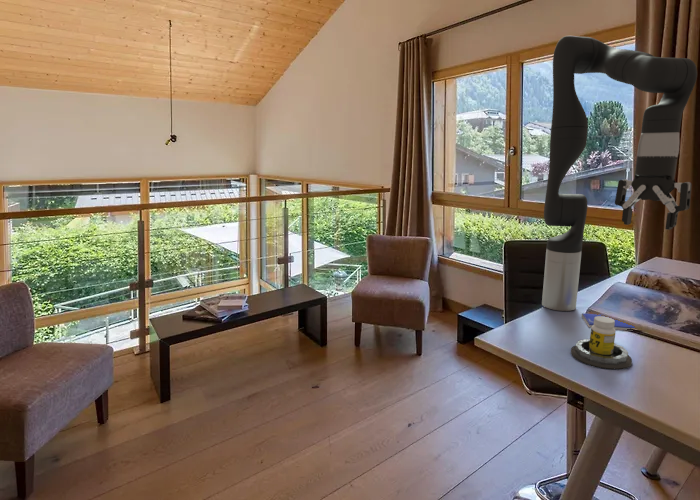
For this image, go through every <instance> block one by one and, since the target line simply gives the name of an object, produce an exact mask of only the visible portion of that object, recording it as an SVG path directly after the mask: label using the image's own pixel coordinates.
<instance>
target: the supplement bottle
mask: <svg viewBox="0 0 700 500" xmlns="http://www.w3.org/2000/svg"><path fill="white" fill-rule="evenodd" d="M614 325H615V320H614V319H612V318H609V317H604V316H596V317H595V318H594V325H592V327H590V335H589V339H590V343H589V352H590V353H592V354H597V355H601V356H611V357H612V356H613V348H614V343H615V341H616V340H615V338H616V329H614Z"/></svg>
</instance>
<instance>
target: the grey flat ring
mask: <svg viewBox="0 0 700 500" xmlns="http://www.w3.org/2000/svg"><path fill="white" fill-rule="evenodd" d="M589 343H590V338H586V339H581V340H578V341H577V342H576V344H575V345H573V346H572V347H571V349H570V355H571V357H572V358H574V359H575V360H577V361H578V362H580V363H582V364H584V365H586V366H590V367H593V368H597V369H604V370H607V371H619V370H625V369H628V368H629V369H630V367H631V366H633V365H632V364H633V359H632V357H631V356H630V355H629V351H628V350H627V349H626V348H624V346H622V345H619V344H617V343H615V342H614V348H613V356H612V357H611V356H601V355H597V354H592V353H590V352H589Z"/></svg>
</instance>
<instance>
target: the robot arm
mask: <svg viewBox="0 0 700 500" xmlns="http://www.w3.org/2000/svg"><path fill="white" fill-rule="evenodd" d="M552 55H553V56H552V84H553V85H552V86H553V87H552V90H553V93H552V95H553V98H552V99H553V102H552V115H551V116H552V117H551V124H550V125H551V127H550V137H549V138H550V139H549V164H548V165H549V167H548V176H547V184H546V189H545V190H546V191H545V200H544V208H543V220H544V223H545V224H546V226H549V227H569V229H568V230H567V231H566V232H564V233H562V234H558V235H556V236H553V237H549V238H548V239H547V241H546V250H545V251H546V252H545V262H544V263H545V264H544V275H543V276H544V277H543V288H542V297H541V298H542V300H541V305H542V307H545V308H547V309H548V310H549V309H550V310H554V311H559V312H562V311H563V312H570V311H574V310H576V308H577V302H578V301H577V299H578V290H579V279H580V270H581V262H582V261H581V260H582V251H583V242H584V233H585V226H586V221H587V214H588V199H587V197H586V195H584V194H581V193H559V191H560V188H561V184H562V182H563V181H564V178H566V175H567V173H568V172H569V171H570V170H571V168H572V166H573V165H574V164H575V163H576V161H578V159H579V158H580V156H581V155H582V154H583V152H584V150H585V149H586V147H587V142H588V129H589V128H588V127H589V121H588V116H587V113H586V111H585V108H584V106H583V105H582V103H581V101H580V99H579V97H578V94H577V92H576V91H577V90H576V87H575V74H577V75H583V74H599V73H600V74H603V75H604V74H605V75H606V76H607V77H608V78H610V79H611V80H614V81H616V82H619V83H623V84H627V85H631V86H632V87H634V88H636V89H637V90H639V91H641V92H646V93H649V94H662V97H661V98H660V101H659V103H658V104H653V105H650V106H649V107H646V108H645V110H644V112H643V116H642V123H641V130H640V136H639V141H638V145H637V151H636V152H637V153H636V160H635V168H634V169H635V170H634V178H633V180H628V179H626V178H625V179H620V180H619V181H618V182H617V187H616V188H617V189H616V192H615V193H616V194H615V198H614V205H615V206H619V207H621V208H622V216H621V222H622V223H623V225H624V226H625V225H627V226H629V225H631V223H632V217H633V212H634V211H633V210H634V209H633V206H634V205H635V204H636V203H637V202H639V201H640V200H642V201H647V200H649V201H654V202H658V201H660V202H661V203H662V204H663V205H665V208H667V210H668V212H667V215H666V222H665V230H669V231H670V230H673V228H675V227H676V226H677V223H678V216H679V215H678V214H679V213H680V212H683V211H688V210H689V209H690V208H691V199H692V198H691V196H692V183H691V182H690V181H686V182H676V180H675V177H676V170H677V163H678V159H679V153H680V134H681V133H680V132H681V125H682V119H683V112H684V110H685V108H686V107H687V104H688V102H689V99H690V97H691V94H692V92H693V90H694V88H695V86H696V82H697V80H698V79H697V78H698V69H697V65H696V63H695V62H694V61H693V60H692V59H691V58H687V57H686V58H685V57H660V56H655V55H653V54H650V53H648V52H644V51H638V50H634V49H633V50H632V49H625V48H624V49H623V48H616V47H613V46H610V45H609V44H606V43H604V42H603V41H600V40H598V39H596V38H595V37H591V36H590V37H589V36H578V35H565V36H563V37H561V38H560V39H559V40H558V41H557V43H556V46H555V48H554V51H553V54H552ZM631 187H632V189H633V191H634V192H633V193H632V194H631V195H630V196H629V197H628V199H626V196H627V192H628V190H629V189H630V188H631ZM675 189H677V192H678V193H679V204H677V202H676V201H675V200H676V199H675V198H674V196H673V195H672V194H671V193H672V192H673V191H674V190H675Z"/></svg>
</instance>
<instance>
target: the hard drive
mask: <svg viewBox="0 0 700 500" xmlns="http://www.w3.org/2000/svg"><path fill="white" fill-rule="evenodd" d="M601 315H602V314H598V315H597V314H596V313H581V318H582V319H583V321H584V323H586V325H587V326H588V328H591V327H592V325H594V318H595V317H596V316H601ZM604 317H605V316H604ZM630 328H631V329H632V328H635V327H634V326H632V325H628V324H626V323H623V322H620V321H618V320H615V325H614V329H615V330H622V331H628V330H627V329H630Z"/></svg>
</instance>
